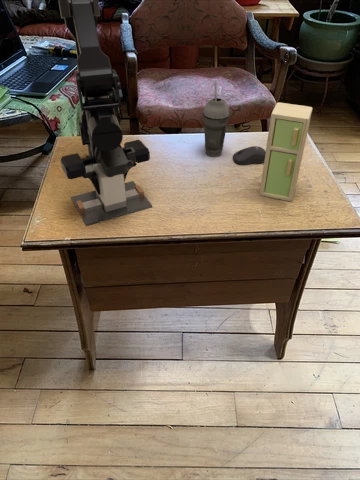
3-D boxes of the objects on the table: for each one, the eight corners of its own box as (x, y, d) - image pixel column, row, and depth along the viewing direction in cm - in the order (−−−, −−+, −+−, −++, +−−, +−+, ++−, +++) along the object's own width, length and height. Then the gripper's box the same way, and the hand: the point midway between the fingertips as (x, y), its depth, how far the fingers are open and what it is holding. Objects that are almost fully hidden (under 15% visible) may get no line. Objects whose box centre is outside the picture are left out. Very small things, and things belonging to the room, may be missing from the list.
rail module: (96, 196, 98) (91, 162, 92) (116, 191, 100) (112, 157, 94) (106, 211, 94) (101, 177, 88) (126, 206, 95) (123, 171, 89)
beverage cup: (210, 162, 112) (215, 89, 99) (195, 151, 117) (198, 80, 104) (231, 155, 115) (238, 83, 102) (216, 144, 120) (221, 74, 107)
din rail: (71, 198, 98) (70, 191, 97) (133, 182, 104) (132, 176, 103) (86, 226, 90) (85, 219, 89) (152, 207, 96) (152, 200, 95)
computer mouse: (230, 156, 115) (232, 143, 112) (262, 154, 116) (264, 141, 113) (235, 166, 111) (237, 153, 108) (269, 164, 112) (271, 151, 109)
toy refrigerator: (257, 196, 99) (270, 114, 86) (264, 181, 105) (277, 101, 91) (290, 204, 97) (309, 120, 84) (295, 188, 102) (314, 106, 89)
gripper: (68, 155, 76) (80, 221, 86) (159, 134, 83) (161, 198, 93) (53, 130, 84) (66, 194, 94) (138, 114, 90) (141, 175, 100)
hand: (110, 191), depth 95 cm, fingers closed on rail module, 5 cm apart
